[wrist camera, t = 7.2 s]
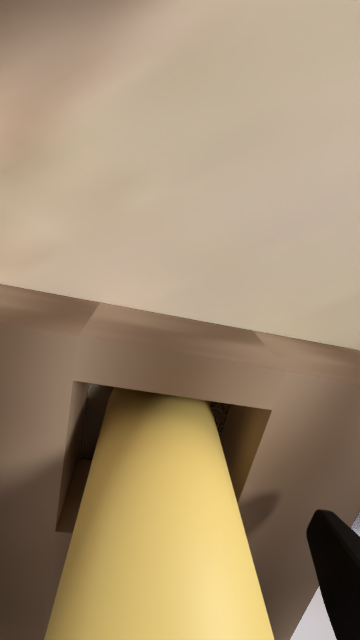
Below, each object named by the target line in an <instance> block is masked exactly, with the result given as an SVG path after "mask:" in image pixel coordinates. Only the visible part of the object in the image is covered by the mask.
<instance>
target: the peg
mask: <svg viewBox="0 0 360 640" xmlns="http://www.w3.org/2000/svg"><path fill="white" fill-rule="evenodd" d="M44 640H274V636H273V633H272V629H271V625H270V622H269V618H268V614H267V611H266V607H265V603H264V599H263V596H262V592H261V588H260V585H259V581H258V577H257V574H256V570H255V566H254V563H253V559H252V555H251V552H250V548H249V544H248V541H247V537H246V533H245V530H244V526H243V522H242V519H241V515H240V511H239V508H238V504H237V500H236V497H235V493H234V489H233V486H232V482H231V478H230V475H229V471H228V467H227V464H226V460H225V456H224V453H223V449H222V445H221V442H220V438H219V434H218V431H217V427H216V423H215V420H214V416H213V412H212V409H211V405H210V401H207V400H200V399H194V398H187V397H180V396H173V395H167V394H160V393H153V392H146V391H140V390H133V389H126V388H119V387H114V389H113V390H112V392H111V394H110V397H109V400H108V404H107V408H106V411H105V415H104V419H103V422H102V426H101V430H100V434H99V437H98V441H97V445H96V449H95V452H94V456H93V460H92V463H91V467H90V471H89V475H88V478H87V482H86V486H85V489H84V493H83V497H82V501H81V504H80V508H79V512H78V516H77V519H76V523H75V527H74V530H73V534H72V538H71V542H70V545H69V549H68V553H67V557H66V560H65V564H64V568H63V571H62V575H61V579H60V583H59V586H58V590H57V594H56V597H55V601H54V605H53V609H52V612H51V616H50V620H49V624H48V627H47V631H46V635H45V638H44Z"/></svg>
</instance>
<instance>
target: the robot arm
mask: <svg viewBox="0 0 360 640" xmlns="http://www.w3.org/2000/svg"><path fill="white" fill-rule="evenodd" d="M306 537H307V541H308V545H309V549H310V553H311V556H312V560H313V564H314V568H315V571H316V575H317V579H318V583H319V586H320V590H321V594H322V597H323V601H324V604H325V607H326V610H327V613H328V616H329V618H330V622H331V625H332V627H333V630H334V633H335V636H336V639H337V640H360V537H359V536H358V535H357V534H356V533H355V532H354V531H353V530H352V529H351V528H350V527H349V526H348V525H347V524H346V523H344V522H343V521H342V520H341V519H340V518H339V517H338V516H337V515H336V514H335V513H334V512H332V511H330V510H324V509H317V510H316V511H315V512H314V514H313V516H312V518H311V520H310V523H309V525H308V527H307V530H306Z"/></svg>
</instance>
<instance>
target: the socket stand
mask: <svg viewBox="0 0 360 640" xmlns="http://www.w3.org/2000/svg"><path fill="white" fill-rule="evenodd" d="M89 383H92V384H99V385H106V386H113V387H119V388H126V389H133V390H140V391H146V392H153V393H160V394H167V395H173V396H180V397H187V398H194V399H200V400H207V401H214V402H221V403H227V404H230V407H229V410H228V413H227V416H226V419H225V422H224V426H223V429H222V432H221V435H220V442H221V445H222V449H223V453H224V456H225V460H226V464H227V467H228V471H229V475H230V478H231V482H232V486H233V489H234V493H235V497H236V500H237V504H238V508H239V511H240V515H241V519H242V522H243V526H244V530H245V533H246V537H247V541H248V544H249V548H250V552H251V555H252V559H253V563H254V566H255V570H256V574H257V577H258V581H259V585H260V588H261V592H262V596H263V599H264V603H265V607H266V611H267V614H268V618H269V622H270V625H271V629H272V633H273V636H274V640H290V638H291V636H292V635H293V633H294V631H295V629H296V627H297V625H298V623H299V621H300V620H301V618H302V616H303V614H304V612H305V611H306V609H307V607H308V605H309V603H310V601H311V599H312V598H313V596H314V594H315V592H316V590H317V589H318V587H319V583H318V579H317V575H316V571H315V568H314V564H313V560H312V556H311V553H310V549H309V545H308V541H307V537H306V530H307V527H308V525H309V523H310V520H311V518H312V516H313V514H314V512H315V511H316V510H317V509H324V510H330V511H332V512H334V513H335V514H336V515H337V516H338V517H339V518H340V519H341V520H342V521H343V522H344V523H346V524H347V525H348V526H349V527H350V528H351V526H352V524H353V522H354V521H355V519H356V517H357V515H358V513H359V511H360V351H359V350H355V349H349V348H344V347H338V346H333V345H327V344H322V343H317V342H311V341H306V340H300V339H295V338H289V337H284V336H279V335H273V334H268V333H262V332H257V331H251V330H246V329H241V328H235V327H230V326H224V325H219V324H213V323H208V322H203V321H197V320H192V319H186V318H181V317H175V316H170V315H165V314H159V313H154V312H148V311H143V310H137V309H132V308H127V307H121V306H116V305H110V304H105V303H99V302H94V301H88V300H83V299H78V298H72V297H67V296H61V295H56V294H50V293H45V292H40V291H34V290H29V289H23V288H18V287H12V286H7V285H2V284H0V640H44V638H45V635H46V631H47V627H48V624H49V620H50V616H51V612H52V609H53V605H54V601H55V597H56V594H57V590H58V586H59V583H60V579H61V575H62V571H63V568H64V564H65V560H66V557H67V553H68V549H69V545H70V542H71V538H72V534H73V530H74V527H75V523H76V519H77V516H78V512H79V508H80V504H81V501H82V497H83V493H84V489H85V486H86V482H87V478H88V475H89V471H90V467H91V463H92V460H85V459H79V454H80V447H81V439H82V432H83V425H84V418H85V410H86V403H87V396H88V388H89Z"/></svg>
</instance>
